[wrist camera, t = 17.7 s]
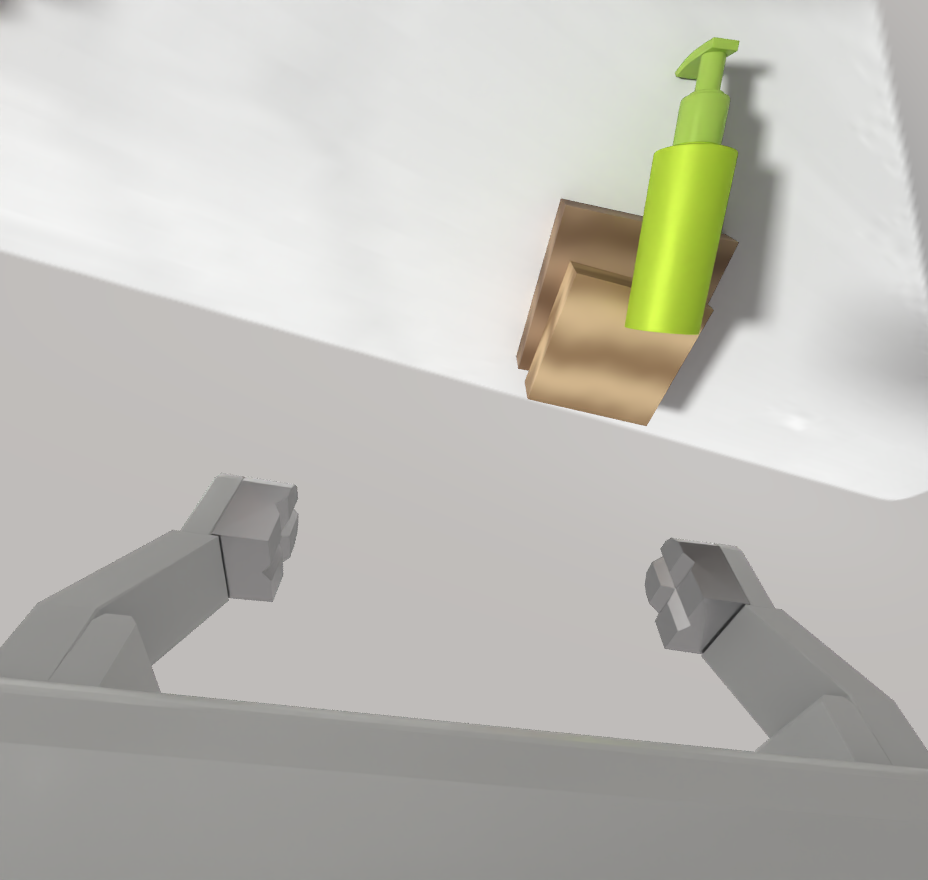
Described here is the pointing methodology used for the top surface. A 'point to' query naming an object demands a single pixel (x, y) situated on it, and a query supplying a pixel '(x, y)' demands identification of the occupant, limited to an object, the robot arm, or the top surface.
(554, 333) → the oak top slab
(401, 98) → the top surface
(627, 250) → the walnut base slab
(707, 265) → the soap dispenser
